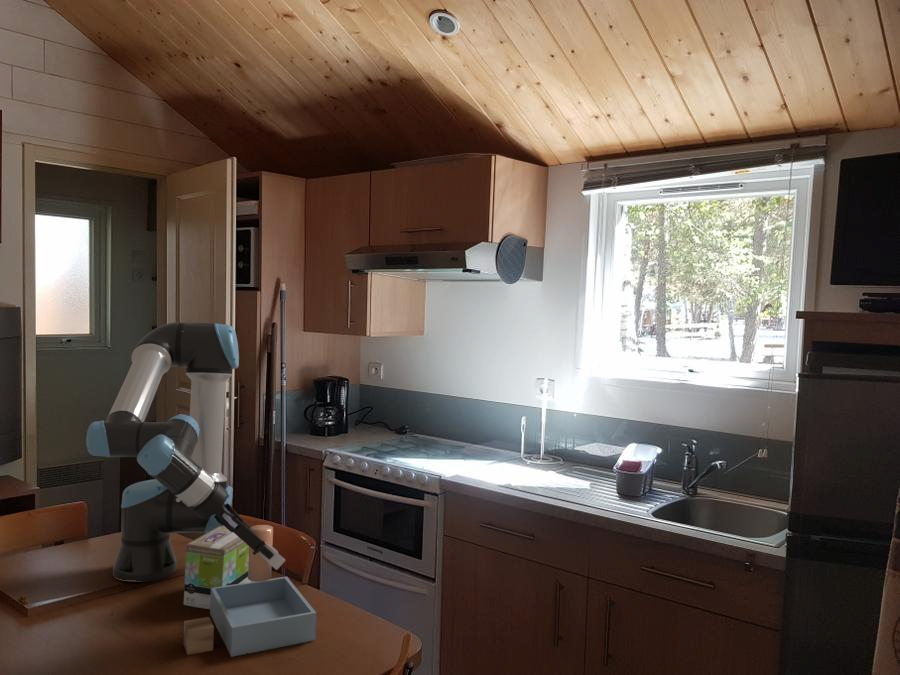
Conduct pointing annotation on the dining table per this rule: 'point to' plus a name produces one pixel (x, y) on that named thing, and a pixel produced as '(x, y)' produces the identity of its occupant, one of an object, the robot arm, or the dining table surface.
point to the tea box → (214, 565)
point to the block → (198, 635)
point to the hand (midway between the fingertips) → (276, 560)
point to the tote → (262, 615)
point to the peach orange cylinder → (256, 564)
